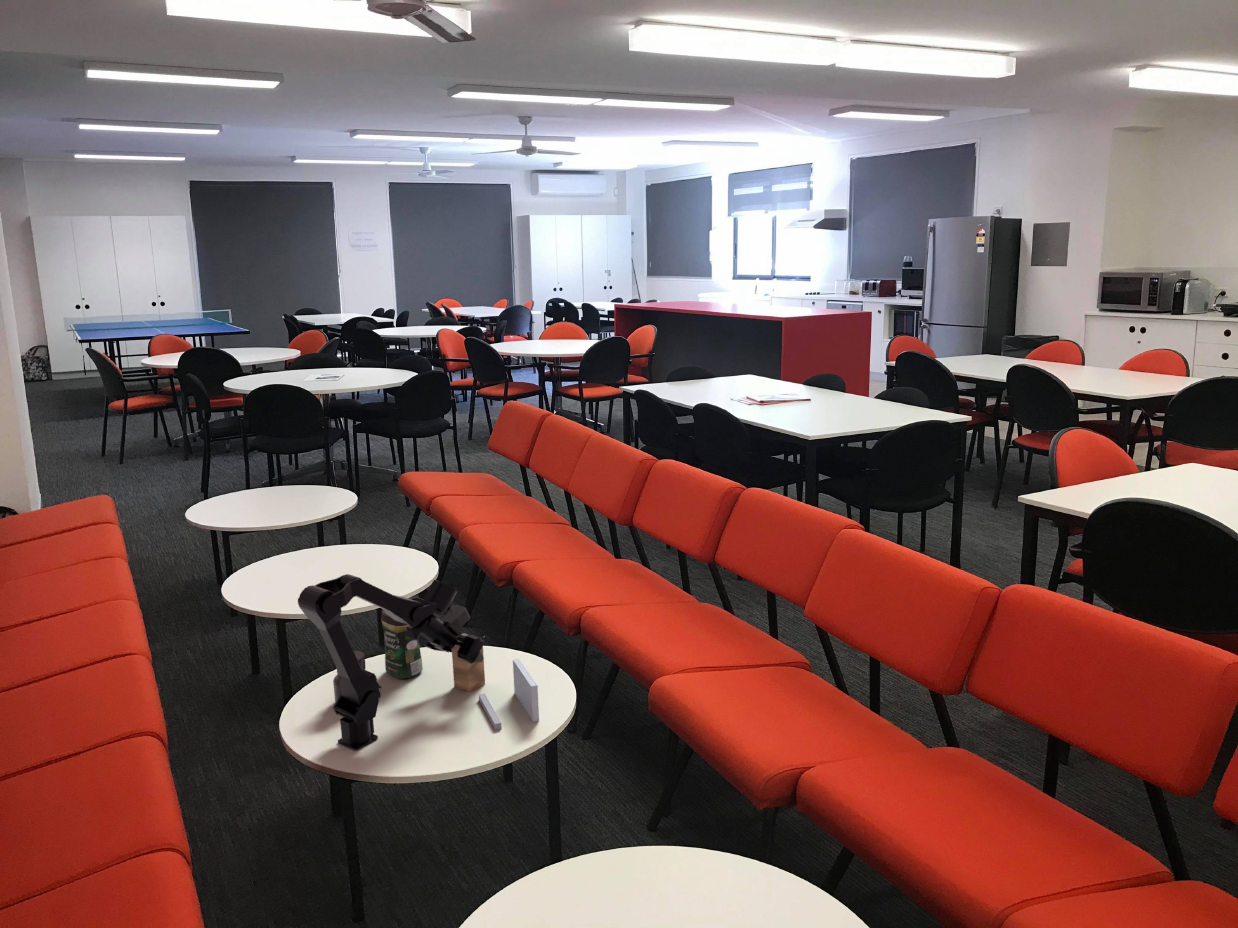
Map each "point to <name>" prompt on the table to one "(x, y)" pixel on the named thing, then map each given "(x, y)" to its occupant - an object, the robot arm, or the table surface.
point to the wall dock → (524, 692)
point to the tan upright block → (467, 671)
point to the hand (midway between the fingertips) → (469, 655)
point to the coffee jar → (400, 649)
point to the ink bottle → (337, 678)
